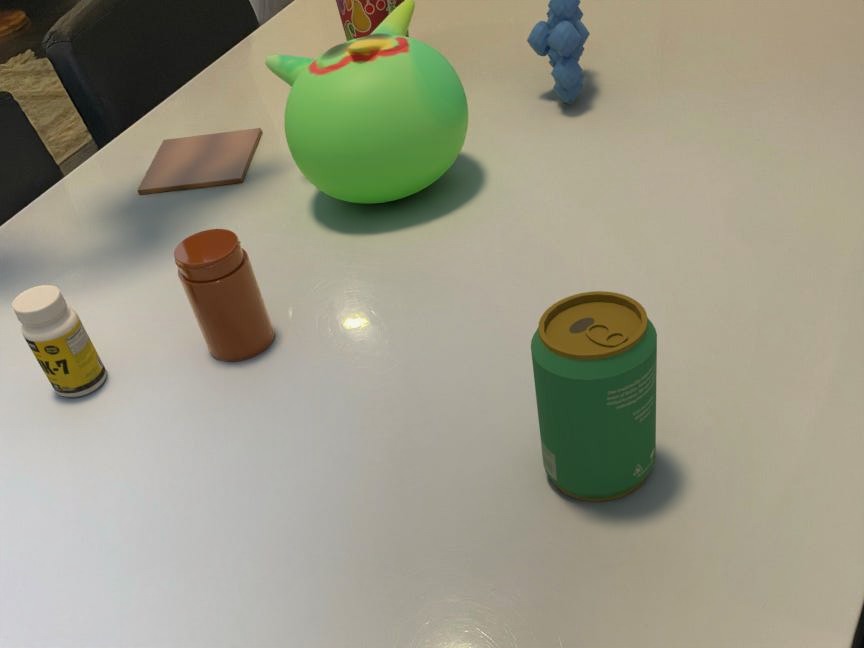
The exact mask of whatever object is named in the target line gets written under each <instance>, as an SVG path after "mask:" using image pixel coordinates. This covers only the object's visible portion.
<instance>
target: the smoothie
mask: <svg viewBox="0 0 864 648" xmlns="http://www.w3.org/2000/svg"><path fill="white" fill-rule="evenodd" d="M404 1H406V0H335V2H336V6H337V10H338V13H339V18H340V20H341V24H342V28H343V32H344V35H345V38H346V39H345V40H346V42H347V41H350V40H353V39H357V38H361V37H366V36H368V35H370V34H371V33H372V32H373V31H374V30H375V29H376V28H377V27H378V26H379V25H380V24H381V23H382V22H383V20H384V19H385V18H386V17H387V16H388V15H389V14H390V13H391V12H392V11H393V10H394V9H395V8H396V7H397V6H399V5H400V4H401V3H402V2H404ZM406 37H410V33H409V29H408V30H407V33H406Z"/></svg>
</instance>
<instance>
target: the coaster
mask: <svg viewBox="0 0 864 648" xmlns="http://www.w3.org/2000/svg"><path fill="white" fill-rule="evenodd" d="M262 133H263V131H262V128H261V127H256V128H248V129H241V130H240V129H239V130H233V131H225V132H217V133H207V134H201V135H200V134H199V135H191V136H185V137H184V136H183V137H175V138H168V139H163V140H162V142H161V144H160V146H159V147H158V150H157V152H156V154H155V155H154V158H153V159H152V161H151V163H150V165H149V167H148V169H147V171H146V173H145V174H144V176H143V179H142V180H141V182H140V184H139V186H138V188H137V194H138V195H145V194H155V193H165V192H172V191H180V190H181V191H182V190H190V189H198V188H206V187H207V188H208V187H216V186H223V185H231V184H232V185H233V184H240V183H243V182H244V180H245V177H246V175H247V172H248V169H249V166H250V164H251V162H252V161H251V160H252V159H253V156H254V154H255V151H256V148H257V145H258V143H259V141H260V138H261V136H262Z"/></svg>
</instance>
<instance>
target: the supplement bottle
mask: <svg viewBox="0 0 864 648" xmlns="http://www.w3.org/2000/svg"><path fill="white" fill-rule="evenodd" d="M66 301H67V300H66V299H65V297H64V295H63V294H62V292H61V291H60V289H59V288H58V287H57V286H55V285H51V284H42V285H37V286H33V287H30V288H28V289H26V290H25V291H22V292H20V293H19V294H18V295H17V296H16V297H15V298H14V299H13V300H12V303H11V307H12V310H13V313H14V314H15V315H16V318H17V320H18V321H19V323H20V324H21V326H20V331H21V335H22V336H23V338H24V340H25V342H26V344H27V346H28V347H29V349H30V350H31V352H32V354H33V356H34V357H35V359H36V362H38V364H39V366H40V368H41V370H42V372H43V373H44V374H45V376H46V378H47V380H48V382H49V383H50V385H51V386H52V388H53V390H54V391H55V393H57V394H58V395H59V396H62V397H65V398H78V397H83V396H85V395H86V396H87V395H89V394H91V393H93V392H94V391H95V390H97V389H99V388H100V387H101V385H102V384H103V383H104V382H105V380H106V379H107V369H106V367H105V365H104V363H103V361H102V359H101V357H100V355H99V353H98V352H97V349H96V347H95V345H94V344H93V341H92V339H91V338H90V336H89V334H88V332H87V330H86V328H85V326H84V324H83V322H82V320H81V318H80V317H79V314H78V313H77V311H75V309H74V308H73V307H71V306H69V305H68V303H67V302H66Z"/></svg>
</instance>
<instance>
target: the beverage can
mask: <svg viewBox="0 0 864 648" xmlns="http://www.w3.org/2000/svg"><path fill="white" fill-rule="evenodd" d="M530 351H531V352H530V353H531V362H532V371H533V380H534V381H533V382H534V389H535V398H536V399H535V400H536V408H537V409H536V410H537V417H538V426H539V427H538V428H539V436H540V445H541V457H542V464H543V468H544V470H545V471H544V472H545V473H546V475H547V476H548V477H549V478H550V480H551V481H552V482H553V484H554V485H555V487H557V488H558V489H559V490H560V491H561V492H562V493H564V494H565V495H568V496H569V497H571V498H573V499H577V500H581V501H586V502H606V501H612V500H616V499H619V498H622V497H624V496H627V495H628V494H630V493H632V492H634V491H635V490H636V489H637V488H639V487H640V486H641V485H642V484H643V482H644V481H645V479H646V478H647V476H648V474H649V473H650V472H651V470H652V469H653V466H654V464H655V461H656V449H657V447H656V446H657V441H656V439H657V374H658V373H657V372H658V371H657V370H658V369H657V366H658V365H657V363H658V361H657V359H658V333H657V329H656V327H655V326H654V324H653V322H652V321H651V320H650V318H649V317H648V314H647V311H646V309H645V307H643V305H642V304H641V303H640V302H639V301H637V300H636V299H634V298H632V297H630V296H628V295H625V294H622V293H618V292H612V291H605V290H604V291H603V290H602V291H601V290H598V291H587V292H586V291H585V292H580V293H577V294H573V295H569V296H566V297H564V298H562V299H560V300H558V301H556V302H555V303H553V304H552V305H550V307H548V308H547V309H546V310H545V311H544V312H543V314H542V315H541V316H540V319H539V321H538V326H537V329H536V330H535V332H534V334H533V335H532V338H531V341H530Z"/></svg>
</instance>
